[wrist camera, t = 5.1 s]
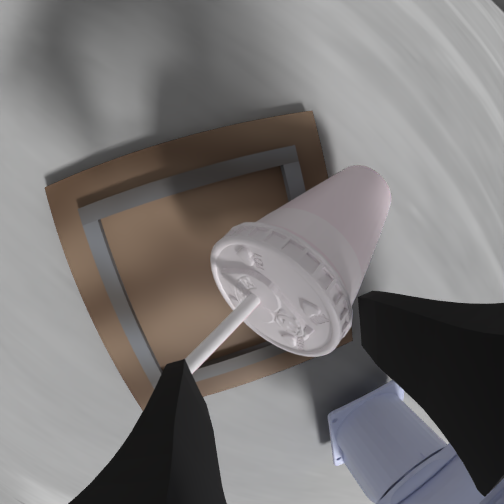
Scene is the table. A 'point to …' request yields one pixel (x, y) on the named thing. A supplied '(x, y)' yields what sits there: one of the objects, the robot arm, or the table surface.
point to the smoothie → (300, 265)
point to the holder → (180, 244)
